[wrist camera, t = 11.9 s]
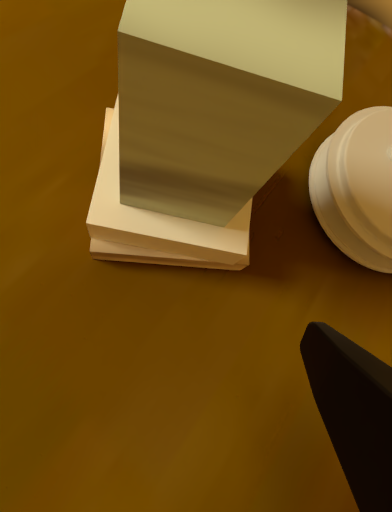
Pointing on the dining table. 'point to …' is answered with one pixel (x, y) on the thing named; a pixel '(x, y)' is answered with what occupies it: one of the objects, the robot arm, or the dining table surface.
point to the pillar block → (220, 97)
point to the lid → (357, 187)
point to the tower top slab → (159, 218)
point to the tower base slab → (145, 255)
